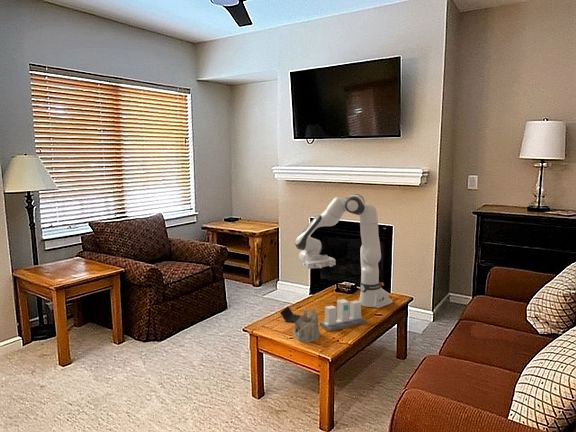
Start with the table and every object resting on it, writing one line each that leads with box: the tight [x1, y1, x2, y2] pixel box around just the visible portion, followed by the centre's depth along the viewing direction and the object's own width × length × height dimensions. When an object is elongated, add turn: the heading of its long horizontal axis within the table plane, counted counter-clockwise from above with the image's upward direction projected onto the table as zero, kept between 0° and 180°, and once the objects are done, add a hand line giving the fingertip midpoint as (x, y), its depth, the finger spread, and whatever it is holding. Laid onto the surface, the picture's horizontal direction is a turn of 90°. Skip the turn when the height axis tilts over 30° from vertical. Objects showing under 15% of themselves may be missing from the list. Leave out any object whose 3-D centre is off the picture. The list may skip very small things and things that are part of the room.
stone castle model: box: [293, 307, 321, 344], centre depth 230 cm, size 16×16×15 cm
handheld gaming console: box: [279, 306, 302, 324], centre depth 254 cm, size 12×7×10 cm
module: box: [336, 298, 350, 322], centre depth 245 cm, size 4×6×11 cm
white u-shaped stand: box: [319, 299, 367, 332], centre depth 245 cm, size 25×10×12 cm, turn 118°
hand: (326, 266), depth 264 cm, fingers open, 6 cm apart
